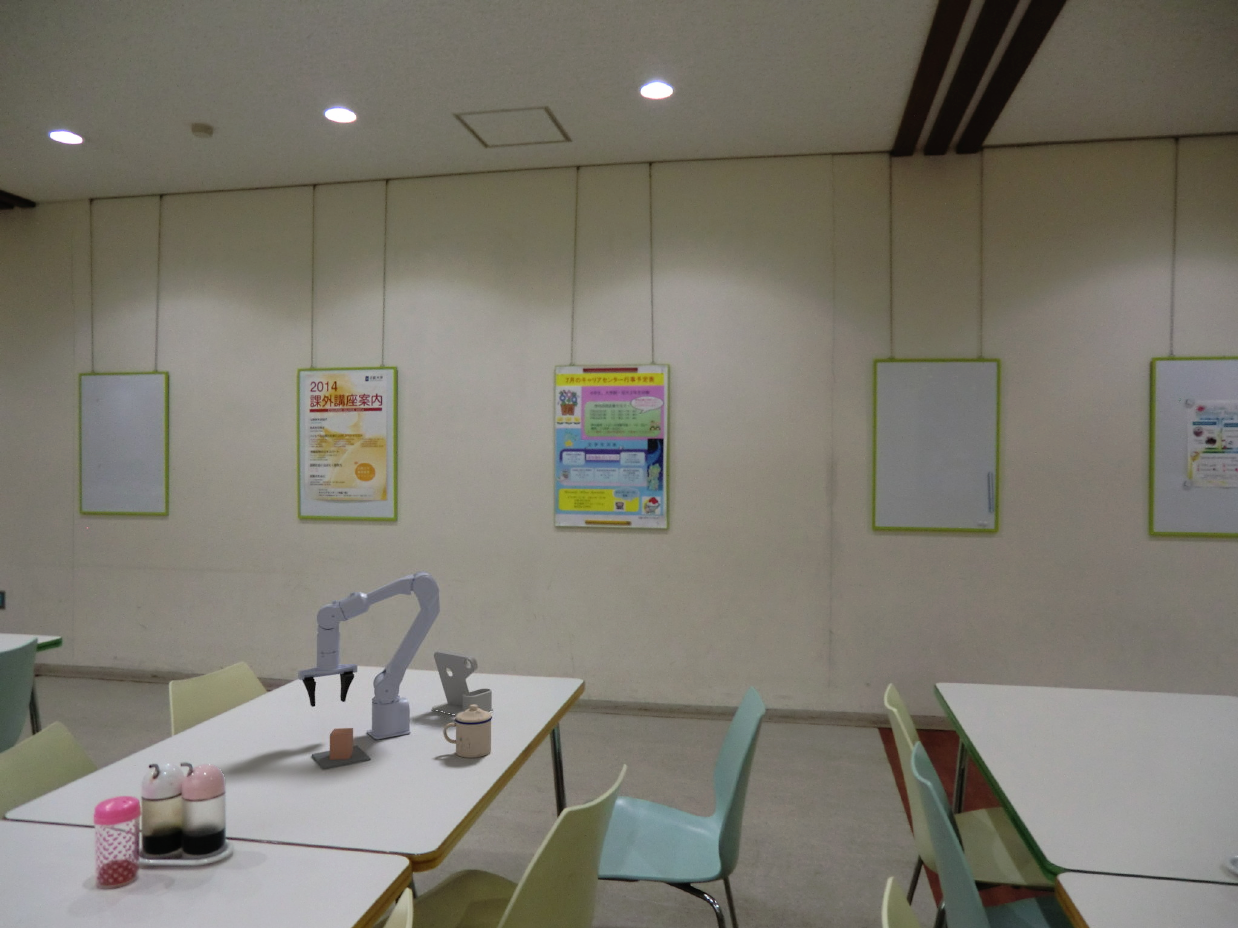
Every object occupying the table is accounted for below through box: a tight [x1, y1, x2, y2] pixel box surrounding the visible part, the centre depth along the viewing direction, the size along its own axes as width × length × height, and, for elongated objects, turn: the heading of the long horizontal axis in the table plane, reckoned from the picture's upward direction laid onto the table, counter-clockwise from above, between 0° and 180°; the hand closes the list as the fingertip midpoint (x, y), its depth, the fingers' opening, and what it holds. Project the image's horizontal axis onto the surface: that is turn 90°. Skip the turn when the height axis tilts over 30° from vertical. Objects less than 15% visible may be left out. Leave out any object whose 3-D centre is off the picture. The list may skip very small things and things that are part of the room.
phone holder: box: [431, 648, 494, 715], centre depth 230 cm, size 17×10×18 cm, turn 55°
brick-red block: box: [329, 727, 354, 760], centre depth 191 cm, size 4×4×6 cm
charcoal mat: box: [311, 745, 371, 770], centre depth 190 cm, size 11×11×1 cm
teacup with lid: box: [442, 704, 493, 759], centre depth 195 cm, size 12×9×12 cm
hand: (328, 703), depth 204 cm, fingers open, 7 cm apart
